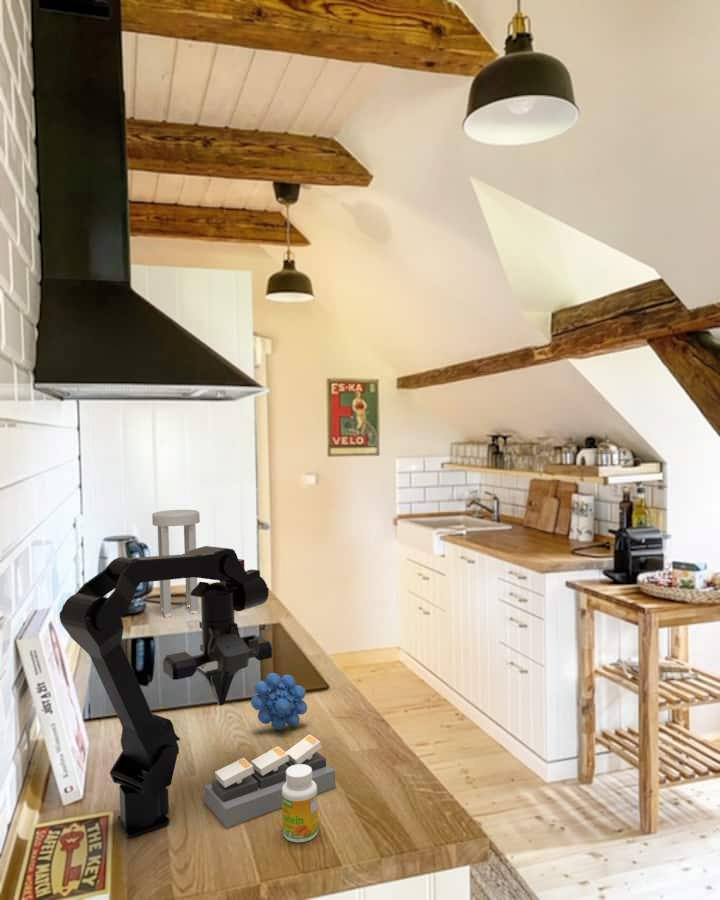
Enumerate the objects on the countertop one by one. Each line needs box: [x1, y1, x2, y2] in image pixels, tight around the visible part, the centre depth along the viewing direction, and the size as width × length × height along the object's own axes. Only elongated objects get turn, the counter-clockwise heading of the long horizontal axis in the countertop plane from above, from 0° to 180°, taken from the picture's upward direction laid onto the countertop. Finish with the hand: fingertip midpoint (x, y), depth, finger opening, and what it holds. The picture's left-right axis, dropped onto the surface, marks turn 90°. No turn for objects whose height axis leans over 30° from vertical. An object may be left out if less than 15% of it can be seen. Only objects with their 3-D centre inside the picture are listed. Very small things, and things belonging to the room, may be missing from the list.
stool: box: [151, 509, 201, 615], centre depth 238 cm, size 16×16×35 cm
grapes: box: [250, 672, 308, 731], centre depth 140 cm, size 12×7×12 cm, turn 109°
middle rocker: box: [250, 745, 289, 776], centre depth 115 cm, size 5×4×2 cm
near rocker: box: [214, 757, 254, 788], centre depth 111 cm, size 5×4×2 cm
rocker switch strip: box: [203, 751, 337, 829], centre depth 115 cm, size 20×9×4 cm, turn 124°
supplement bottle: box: [281, 764, 319, 843], centre depth 104 cm, size 5×5×10 cm
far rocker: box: [285, 734, 323, 764], centre depth 119 cm, size 5×4×2 cm
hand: (221, 704), depth 121 cm, fingers closed
